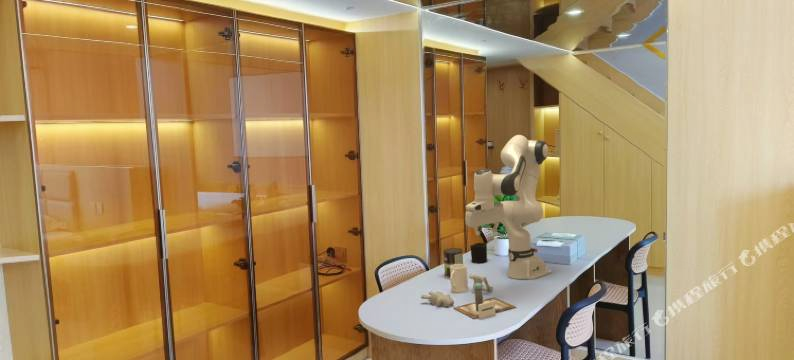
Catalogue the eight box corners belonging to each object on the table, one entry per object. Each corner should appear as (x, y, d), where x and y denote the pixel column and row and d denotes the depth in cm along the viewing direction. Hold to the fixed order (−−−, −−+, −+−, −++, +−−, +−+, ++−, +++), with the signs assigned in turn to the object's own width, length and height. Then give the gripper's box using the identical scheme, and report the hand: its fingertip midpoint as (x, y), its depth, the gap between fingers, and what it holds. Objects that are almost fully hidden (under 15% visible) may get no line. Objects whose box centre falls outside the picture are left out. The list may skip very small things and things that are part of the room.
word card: (494, 314, 230) (493, 300, 229) (495, 314, 229) (494, 301, 229) (478, 318, 227) (478, 304, 226) (479, 319, 226) (478, 305, 225)
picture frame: (494, 298, 250) (494, 295, 250) (516, 307, 236) (516, 304, 236) (453, 308, 241) (453, 305, 241) (474, 319, 226) (473, 316, 226)
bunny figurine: (445, 301, 239) (419, 292, 249) (444, 312, 240) (418, 302, 250) (457, 295, 246) (432, 286, 256) (457, 306, 247) (431, 296, 257)
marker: (480, 308, 237) (479, 282, 236) (485, 310, 234) (483, 284, 233) (474, 309, 235) (472, 284, 234) (478, 312, 232) (477, 285, 231)
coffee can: (446, 279, 285) (444, 253, 283) (443, 274, 295) (442, 248, 293) (465, 277, 285) (464, 251, 284) (462, 272, 295) (460, 247, 294)
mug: (457, 295, 258) (455, 271, 257) (443, 292, 264) (441, 268, 262) (472, 288, 266) (470, 264, 265) (458, 286, 272) (456, 262, 271)
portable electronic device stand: (493, 291, 261) (492, 274, 260) (482, 295, 256) (481, 278, 255) (478, 287, 267) (477, 271, 266) (468, 292, 262) (467, 275, 261)
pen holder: (489, 263, 310) (488, 246, 309) (472, 264, 310) (471, 247, 309) (486, 259, 319) (485, 242, 318) (470, 260, 319) (469, 243, 318)
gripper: (498, 200, 259) (500, 229, 261) (462, 206, 250) (464, 236, 252) (506, 202, 253) (508, 231, 255) (470, 208, 245) (472, 238, 246)
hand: (486, 233), depth 253 cm, fingers open, 8 cm apart
